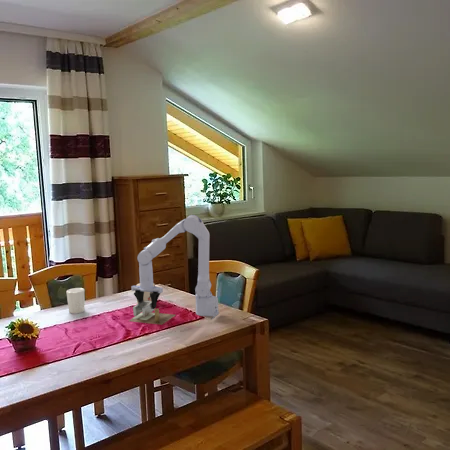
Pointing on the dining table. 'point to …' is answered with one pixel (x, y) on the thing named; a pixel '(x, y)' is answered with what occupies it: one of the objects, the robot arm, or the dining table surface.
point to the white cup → (76, 300)
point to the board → (153, 318)
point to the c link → (143, 308)
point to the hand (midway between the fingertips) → (147, 307)
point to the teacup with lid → (146, 294)
